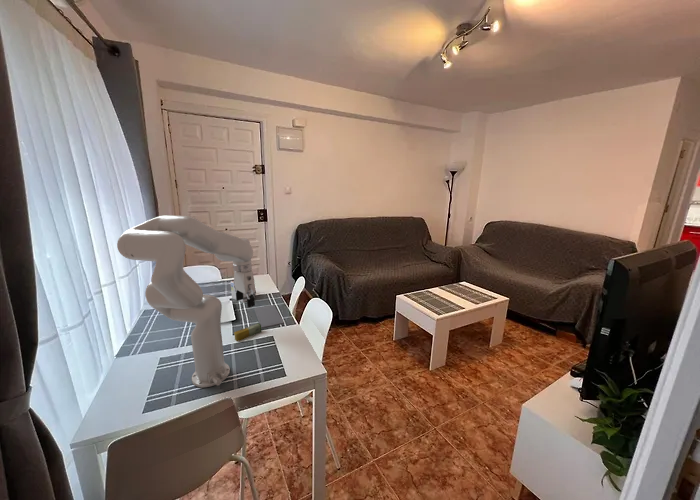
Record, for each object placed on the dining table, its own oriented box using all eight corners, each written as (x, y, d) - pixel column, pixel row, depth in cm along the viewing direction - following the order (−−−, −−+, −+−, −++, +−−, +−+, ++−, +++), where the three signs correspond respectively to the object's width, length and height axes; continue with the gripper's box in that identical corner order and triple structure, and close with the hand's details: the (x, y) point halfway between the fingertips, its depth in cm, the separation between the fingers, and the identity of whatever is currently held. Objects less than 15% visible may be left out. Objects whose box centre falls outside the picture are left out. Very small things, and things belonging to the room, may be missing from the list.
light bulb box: (252, 298, 167) (251, 282, 164) (242, 303, 161) (241, 285, 159) (241, 294, 172) (239, 278, 170) (231, 298, 167) (229, 281, 164)
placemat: (283, 323, 140) (283, 322, 140) (261, 328, 135) (260, 327, 135) (274, 305, 159) (274, 304, 159) (253, 309, 154) (253, 308, 154)
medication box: (259, 330, 134) (258, 322, 133) (262, 332, 132) (261, 324, 131) (234, 339, 126) (233, 331, 125) (237, 342, 124) (236, 334, 123)
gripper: (261, 269, 118) (263, 306, 122) (240, 260, 129) (243, 295, 133) (244, 273, 112) (247, 312, 117) (224, 264, 123) (228, 300, 128)
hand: (245, 303), depth 125 cm, fingers open, 9 cm apart
